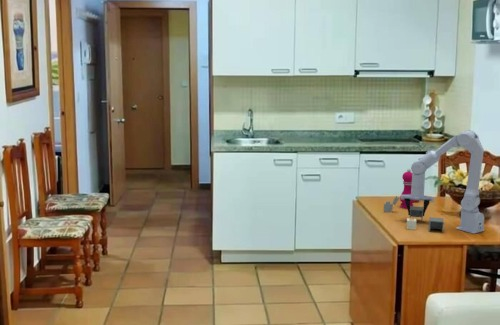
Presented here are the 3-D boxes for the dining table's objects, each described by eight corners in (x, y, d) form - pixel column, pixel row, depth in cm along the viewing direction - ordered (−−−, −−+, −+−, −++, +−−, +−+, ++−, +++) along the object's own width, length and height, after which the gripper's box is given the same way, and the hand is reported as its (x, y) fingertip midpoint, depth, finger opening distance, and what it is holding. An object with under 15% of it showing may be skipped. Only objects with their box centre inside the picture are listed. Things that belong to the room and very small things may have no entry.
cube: (406, 226, 268) (407, 218, 268) (415, 227, 267) (416, 218, 267) (406, 229, 265) (407, 220, 264) (415, 230, 264) (416, 221, 263)
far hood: (409, 216, 281) (410, 206, 280) (422, 217, 279) (423, 206, 278) (409, 219, 275) (410, 209, 274) (422, 220, 274) (423, 209, 273)
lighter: (383, 212, 293) (384, 196, 292) (383, 211, 295) (384, 195, 293) (398, 212, 293) (399, 196, 291) (397, 211, 294) (398, 196, 293)
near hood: (428, 228, 266) (429, 217, 266) (442, 229, 265) (443, 218, 264) (429, 231, 261) (429, 220, 260) (442, 232, 259) (443, 221, 259)
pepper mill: (414, 209, 299) (416, 170, 295) (399, 208, 300) (401, 169, 297) (413, 206, 306) (415, 167, 302) (399, 205, 307) (401, 167, 304)
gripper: (401, 187, 273) (399, 216, 275) (434, 189, 269) (432, 218, 271) (401, 184, 279) (400, 212, 282) (434, 186, 276) (432, 214, 278)
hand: (416, 215), depth 277 cm, fingers closed on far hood, 6 cm apart
